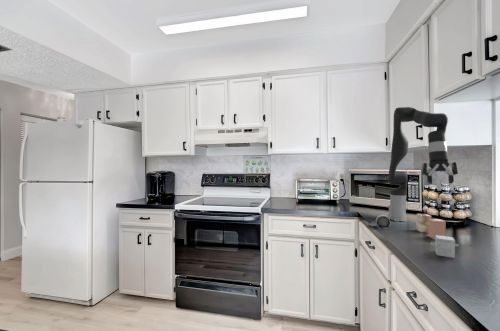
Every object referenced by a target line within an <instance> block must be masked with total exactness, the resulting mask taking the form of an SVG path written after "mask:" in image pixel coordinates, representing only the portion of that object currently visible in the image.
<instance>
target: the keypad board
mask: <svg viewBox="0 0 500 331" xmlns="http://www.w3.org/2000/svg"><path fill="white" fill-rule="evenodd" d="M426 243H427V244H429V245H432V246H435V241H426ZM455 247H460V244H459V243H455Z"/></svg>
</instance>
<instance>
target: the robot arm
mask: <svg viewBox="0 0 500 331" xmlns="http://www.w3.org/2000/svg"><path fill="white" fill-rule="evenodd" d="M409 122H414V123H416V124H418V125H421V126H423V127H426V128H436V129H435V130H433V131H430V132H428V133H427V139H428V140H427V142H428V146H427V147H428V148H427V149H428V160H429V163H426V162H424V163H422V165H421V168H422V170H421V172H422V175H423V176H426V180H427V183H428V184H430V185H431V184H433V176H432V174H434V173H435V172H440V173H441V172H444V173H445V174H447V176H448V178H447V179H448V184H453V183H454V182H455V181H454V180H455V179H454V176H455V175H456V176H457V175H458V173H459V172H458V167H457V165H458V164H457V162H455V161H454V162H449V158H448V156H449V155H448V146H447V142H446V131H447V126H448V122H449V118H448V116H447V114H445V113H442V112H438V113H437V112H434V113H432V112H429V111H424V110H423V111H422V110H418V109H416V108H414V107H412V106H411V107H410V106H406V107H405V106H404V107H402V106H401V107H396V108H395V109H394V112H393V132H392V133H393V134H392V141H391V154H390V164H389V169H388V177H387V182H388V184H389V185H394V186H395V185H396V186H398V185H399V186H398V187H396V188H394V189H391V190H390V194H389V195H390V196H389V197H390V198H389V200H390V202H389V205H388V218H389V219H391V220H390V221H393V220H394V221H393V222H399V221H404V222H406V219H407V218H406V216H407V212H406V211H407V210H406V209H407V189H408V177H409V176H408V173H407V172H406V171H405V170H403V171H402V170H401V171H400V170H399V171H398V170H397V168H398V165H400V163H401V162H402V160H404V158H405V157H406V156H407V154H408V149H409V140H408V138H407V137H406V135H405V134H404V132H403V129H402V123H409ZM428 167H429V168H430V169H429V171H427V170H428ZM449 167H450V168H451V169H450V168H449Z"/></svg>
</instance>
